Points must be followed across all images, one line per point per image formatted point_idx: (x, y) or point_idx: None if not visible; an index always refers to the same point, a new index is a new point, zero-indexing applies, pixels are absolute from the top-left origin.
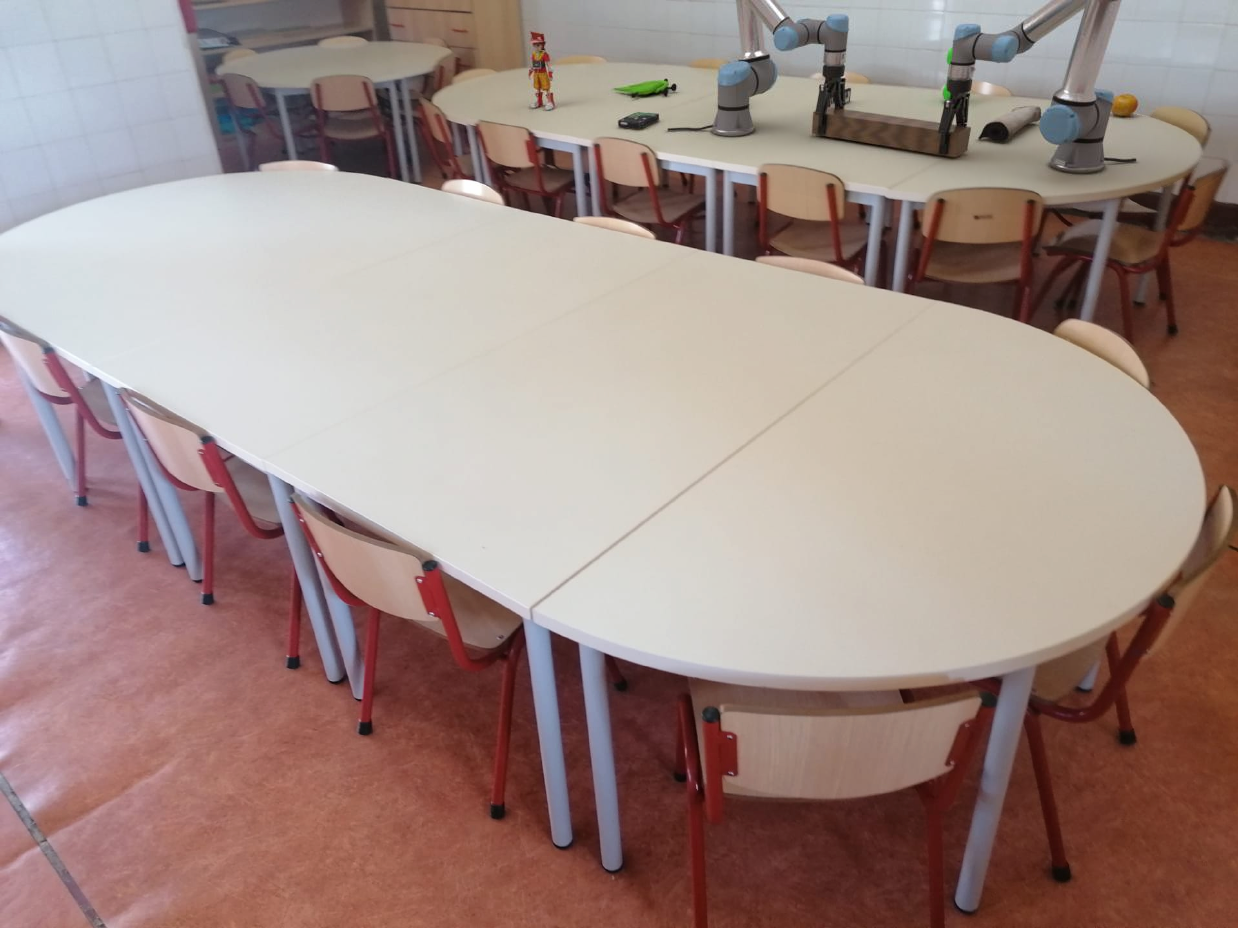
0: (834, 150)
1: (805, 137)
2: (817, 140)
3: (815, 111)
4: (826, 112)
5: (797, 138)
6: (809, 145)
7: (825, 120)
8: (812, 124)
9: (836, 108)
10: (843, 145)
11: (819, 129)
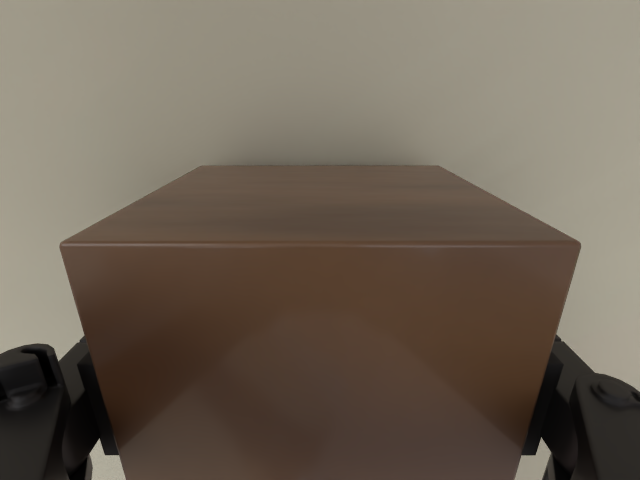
0: None
1: (168, 116)
2: None
3: (108, 269)
4: (186, 443)
5: (89, 66)
6: (14, 276)
7: None
8: (162, 188)
9: (503, 443)
10: None
11: None
